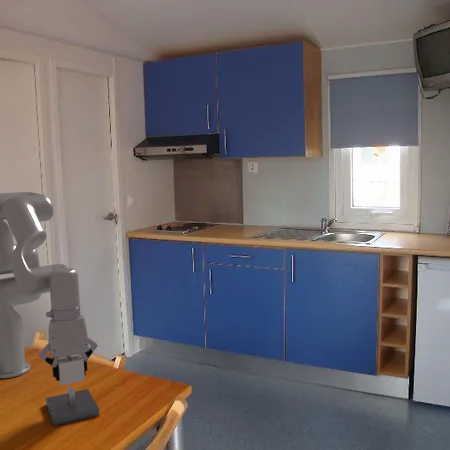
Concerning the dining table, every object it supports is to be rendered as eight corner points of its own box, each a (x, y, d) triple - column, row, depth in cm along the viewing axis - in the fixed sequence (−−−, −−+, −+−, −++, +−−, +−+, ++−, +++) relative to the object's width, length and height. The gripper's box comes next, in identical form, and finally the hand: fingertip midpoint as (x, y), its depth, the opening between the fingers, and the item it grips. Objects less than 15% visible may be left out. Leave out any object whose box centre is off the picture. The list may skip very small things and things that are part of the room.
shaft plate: (46, 404, 150) (44, 384, 149) (88, 395, 155) (87, 376, 154) (53, 426, 137) (52, 404, 137) (99, 415, 143) (98, 394, 142)
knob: (56, 377, 146) (55, 355, 145) (80, 372, 149) (78, 351, 148) (60, 385, 140) (59, 363, 140) (84, 380, 143) (83, 358, 143)
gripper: (34, 322, 136) (39, 388, 138) (101, 311, 143) (104, 374, 145) (31, 315, 142) (36, 378, 144) (94, 305, 150) (98, 365, 152)
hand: (70, 375), depth 145 cm, fingers closed on knob, 6 cm apart
